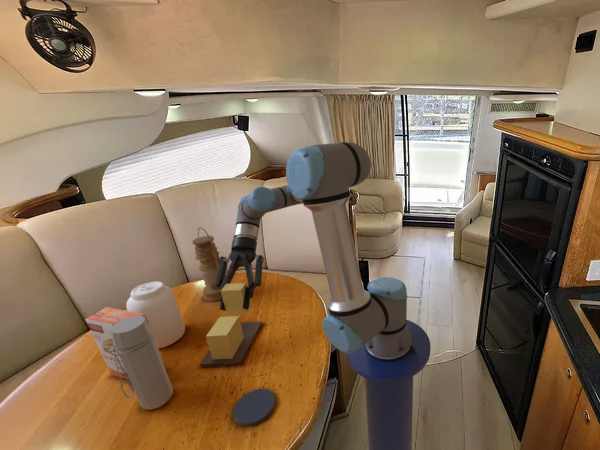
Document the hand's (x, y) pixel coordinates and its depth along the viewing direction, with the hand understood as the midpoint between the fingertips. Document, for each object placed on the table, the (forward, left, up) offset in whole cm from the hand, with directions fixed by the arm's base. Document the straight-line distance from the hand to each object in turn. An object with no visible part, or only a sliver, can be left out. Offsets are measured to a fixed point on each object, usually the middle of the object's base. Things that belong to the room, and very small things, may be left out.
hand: (234, 309), depth 96 cm
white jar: (+30, -2, -15) cm, 33 cm away
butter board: (+4, -1, -15) cm, 16 cm away
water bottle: (+13, +21, -15) cm, 29 cm away
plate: (-15, +20, -15) cm, 30 cm away
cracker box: (+25, +13, -15) cm, 32 cm away
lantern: (+28, -28, -15) cm, 42 cm away
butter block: (+4, +2, -14) cm, 14 cm away
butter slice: (0, -2, -2) cm, 4 cm away
